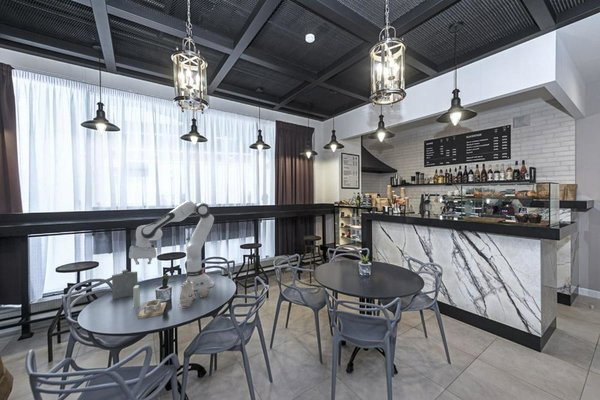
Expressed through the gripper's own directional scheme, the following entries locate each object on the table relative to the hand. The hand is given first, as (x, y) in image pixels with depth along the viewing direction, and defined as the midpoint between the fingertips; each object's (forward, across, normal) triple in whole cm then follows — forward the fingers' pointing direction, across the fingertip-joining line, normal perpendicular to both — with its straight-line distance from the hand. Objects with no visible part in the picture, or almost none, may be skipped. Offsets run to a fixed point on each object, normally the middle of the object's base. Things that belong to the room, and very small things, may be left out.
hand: (143, 264), depth 183 cm
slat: (+29, -5, +1) cm, 29 cm away
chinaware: (+34, +14, -29) cm, 47 cm away
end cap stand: (+34, -6, -15) cm, 38 cm away
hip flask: (+19, +4, +24) cm, 31 cm away
